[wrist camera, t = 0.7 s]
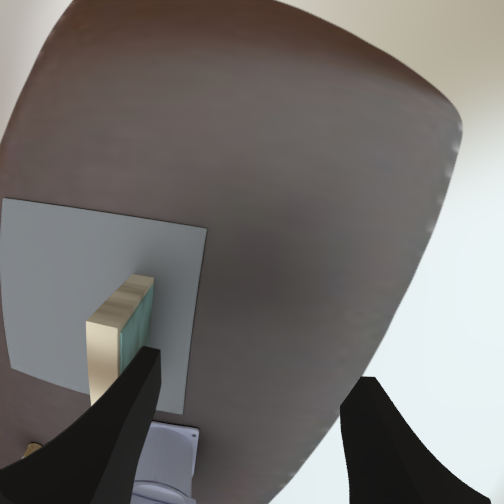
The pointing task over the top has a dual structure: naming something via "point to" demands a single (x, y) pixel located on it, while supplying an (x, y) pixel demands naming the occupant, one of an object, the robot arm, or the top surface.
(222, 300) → the top surface
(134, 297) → the teal framed tile
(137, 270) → the slate mat
